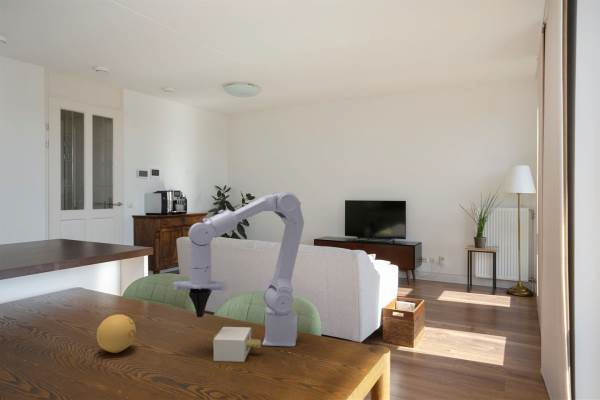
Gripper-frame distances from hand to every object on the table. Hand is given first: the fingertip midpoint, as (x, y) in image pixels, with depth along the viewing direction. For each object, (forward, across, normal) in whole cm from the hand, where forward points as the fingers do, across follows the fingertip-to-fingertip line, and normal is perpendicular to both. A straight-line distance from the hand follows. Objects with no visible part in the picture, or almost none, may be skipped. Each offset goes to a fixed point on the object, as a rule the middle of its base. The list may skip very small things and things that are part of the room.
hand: (200, 316), depth 111 cm
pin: (+9, +10, -1) cm, 14 cm away
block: (+10, +9, -1) cm, 14 cm away
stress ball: (+10, -23, -2) cm, 25 cm away
